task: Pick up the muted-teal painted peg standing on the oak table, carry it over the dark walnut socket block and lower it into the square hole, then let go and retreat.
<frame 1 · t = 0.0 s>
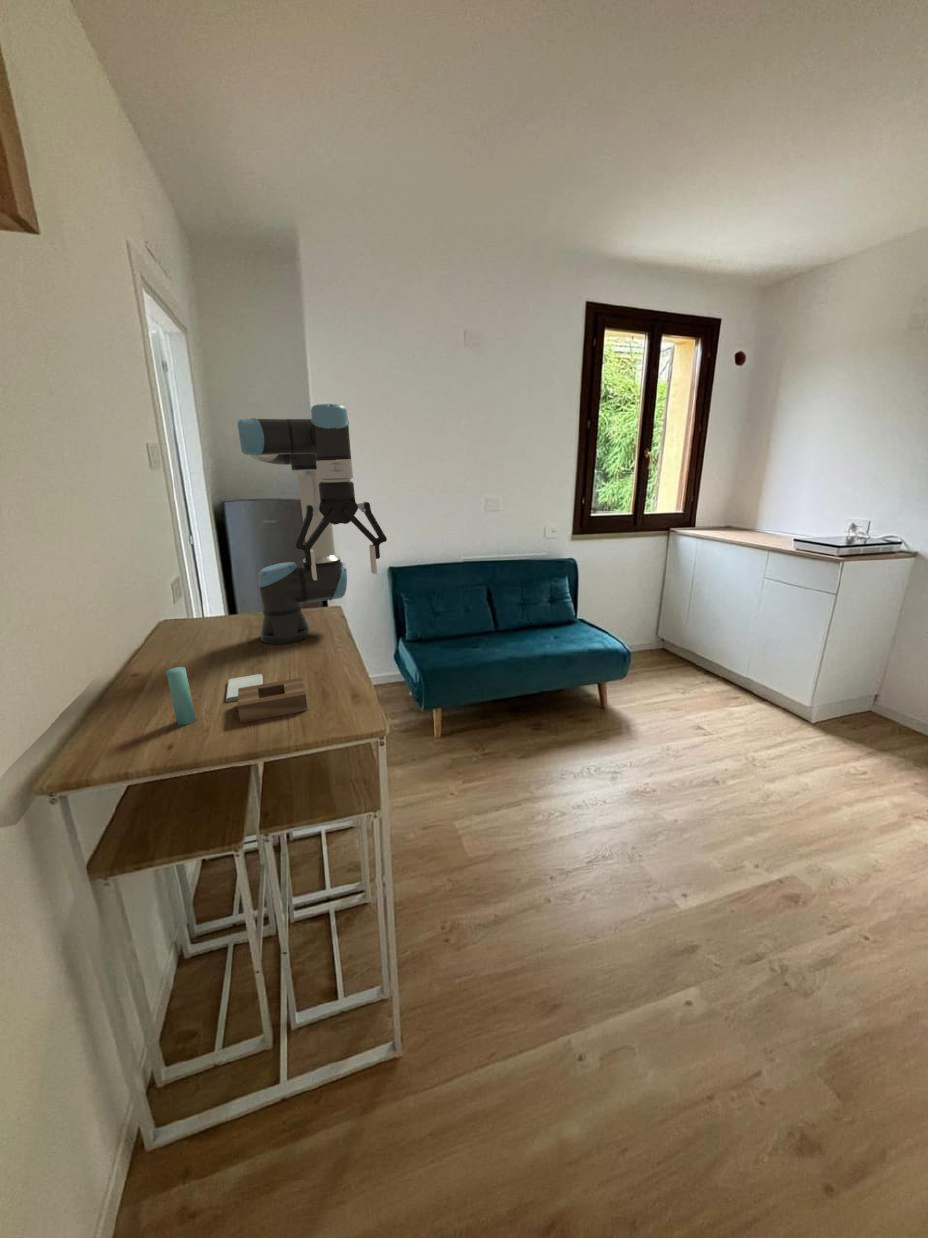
hand: (345, 576, 118), 28 cm above the table, fingers open, 13 cm apart
socket block: (273, 707, 117), on the table
peg: (186, 721, 112), on the table
hard drive: (245, 691, 127), on the table
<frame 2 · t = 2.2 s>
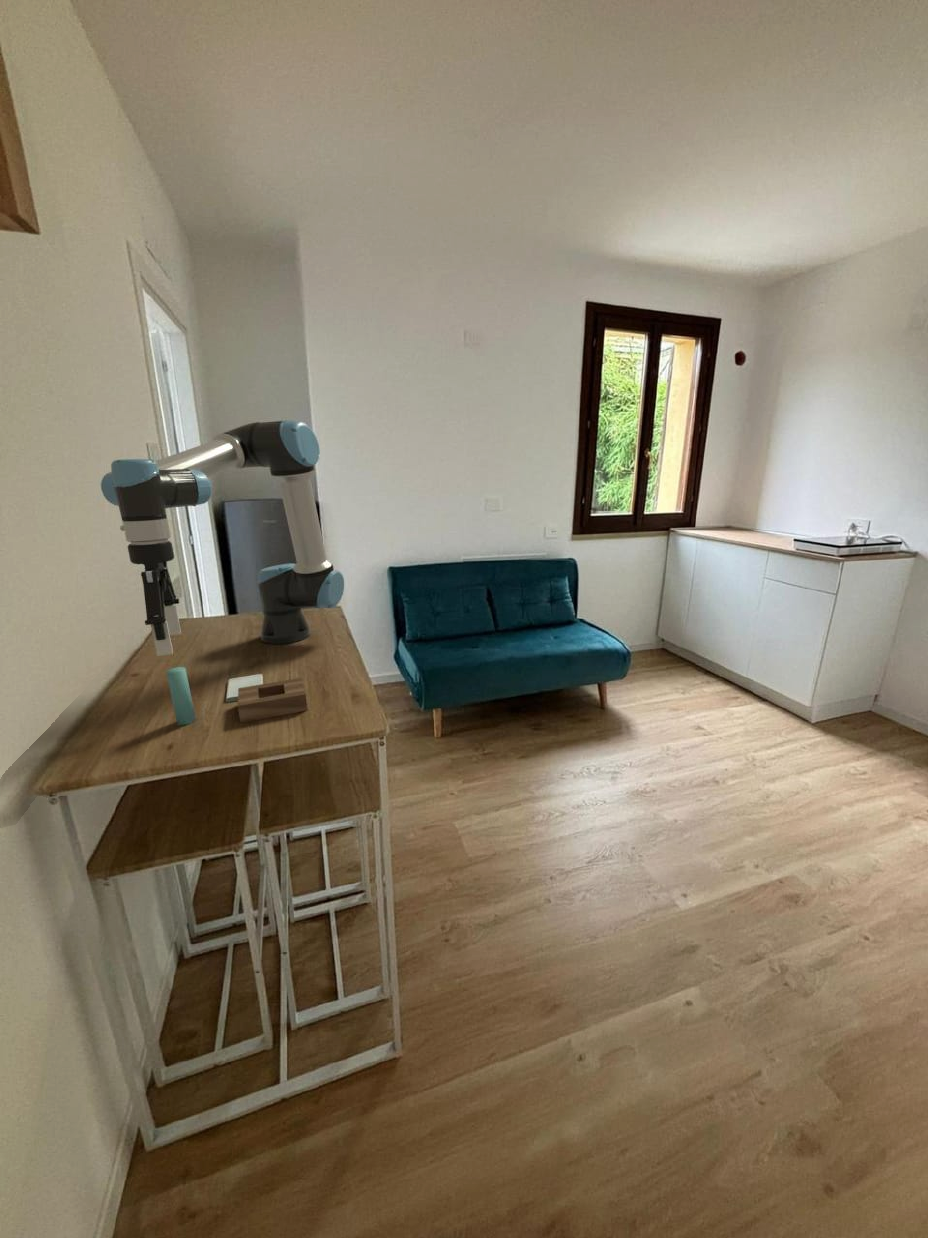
hand: (170, 644, 106), 18 cm above the table, fingers open, 13 cm apart
nothing on the table moved.
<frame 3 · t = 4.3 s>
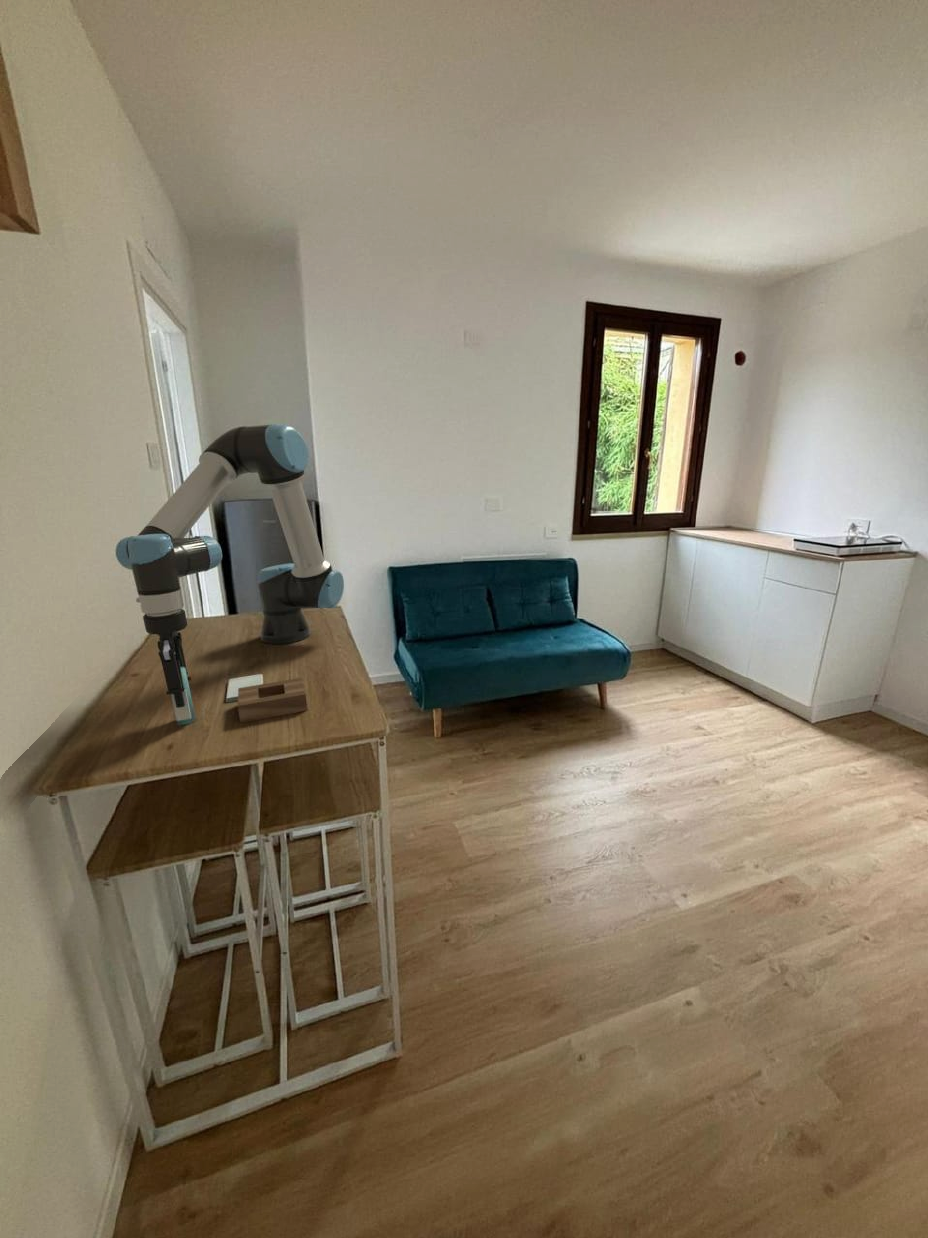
hand: (185, 714, 111), 2 cm above the table, fingers closed on peg, 3 cm apart
peg: (186, 721, 112), on the table, touching gripper
everything else where it was.
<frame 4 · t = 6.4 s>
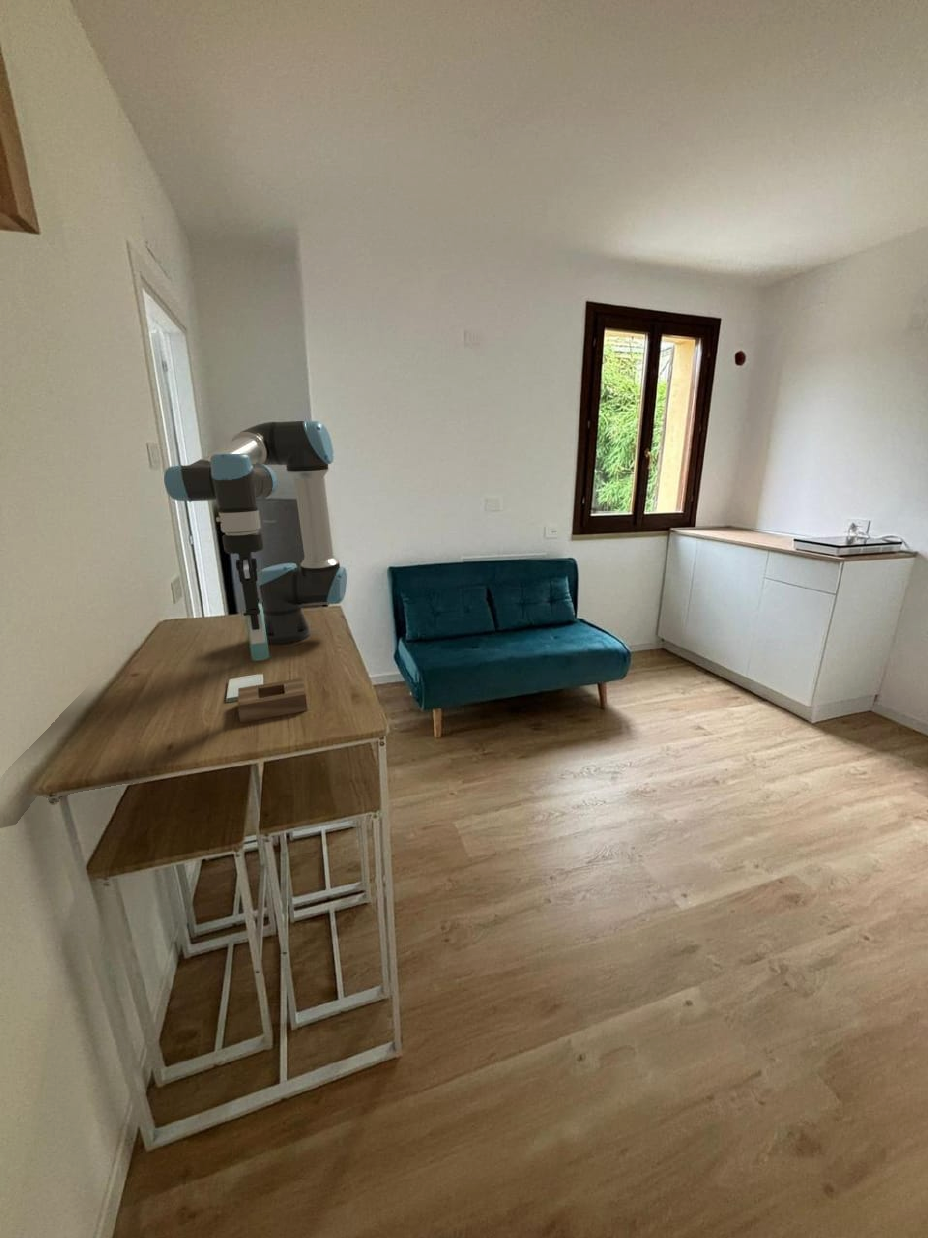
hand: (258, 639, 112), 16 cm above the table, fingers closed on peg, 3 cm apart
peg: (260, 657, 113), point 12 cm above the table, touching gripper
everything else where it was.
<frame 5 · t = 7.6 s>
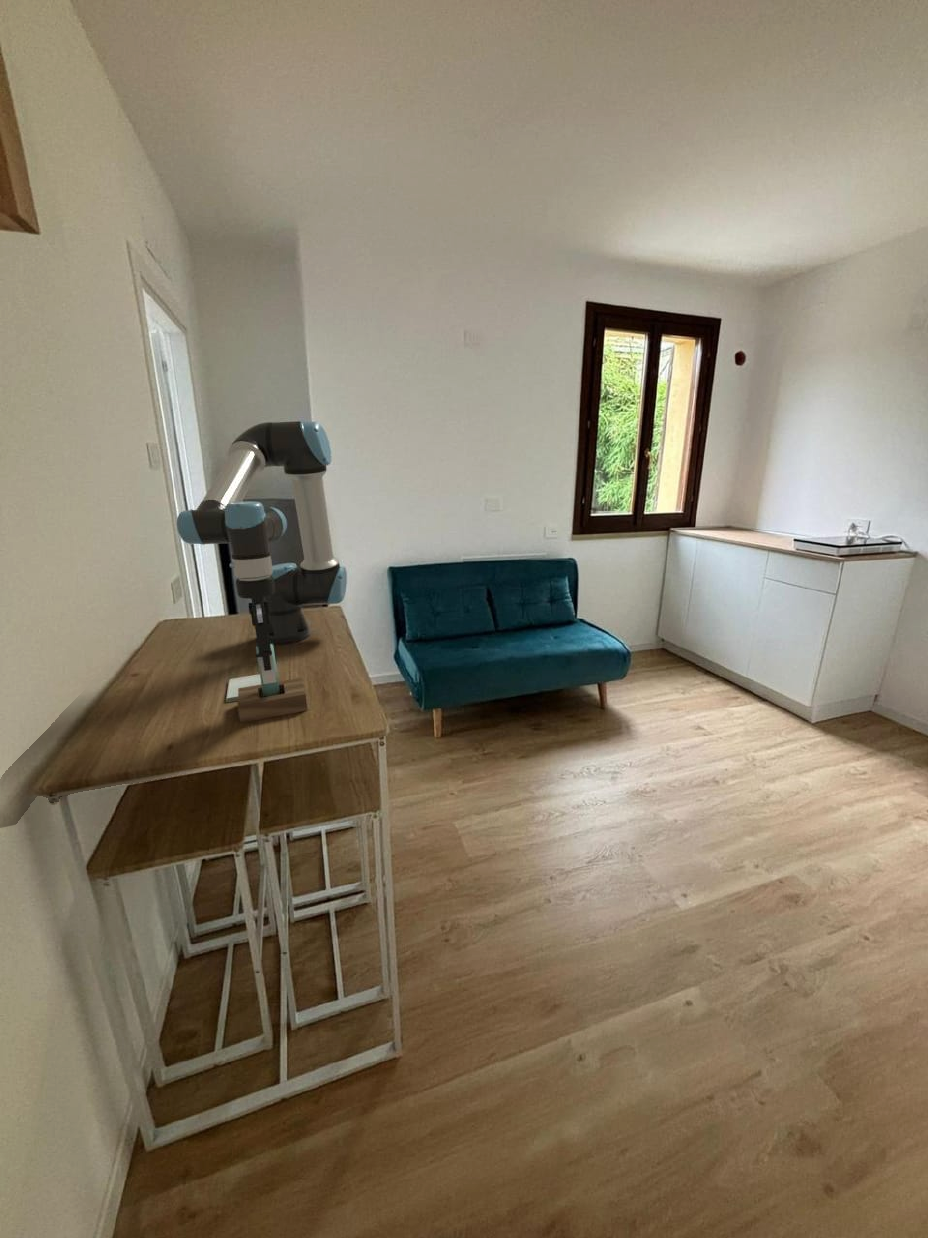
hand: (269, 679, 115), 7 cm above the table, fingers closed on peg, 3 cm apart
peg: (271, 696, 116), point 3 cm above the table, touching gripper
everything else where it was.
when the fingers open (5 cm above the table, at t = 8.6 s): peg stays where it is, resting in socket block.
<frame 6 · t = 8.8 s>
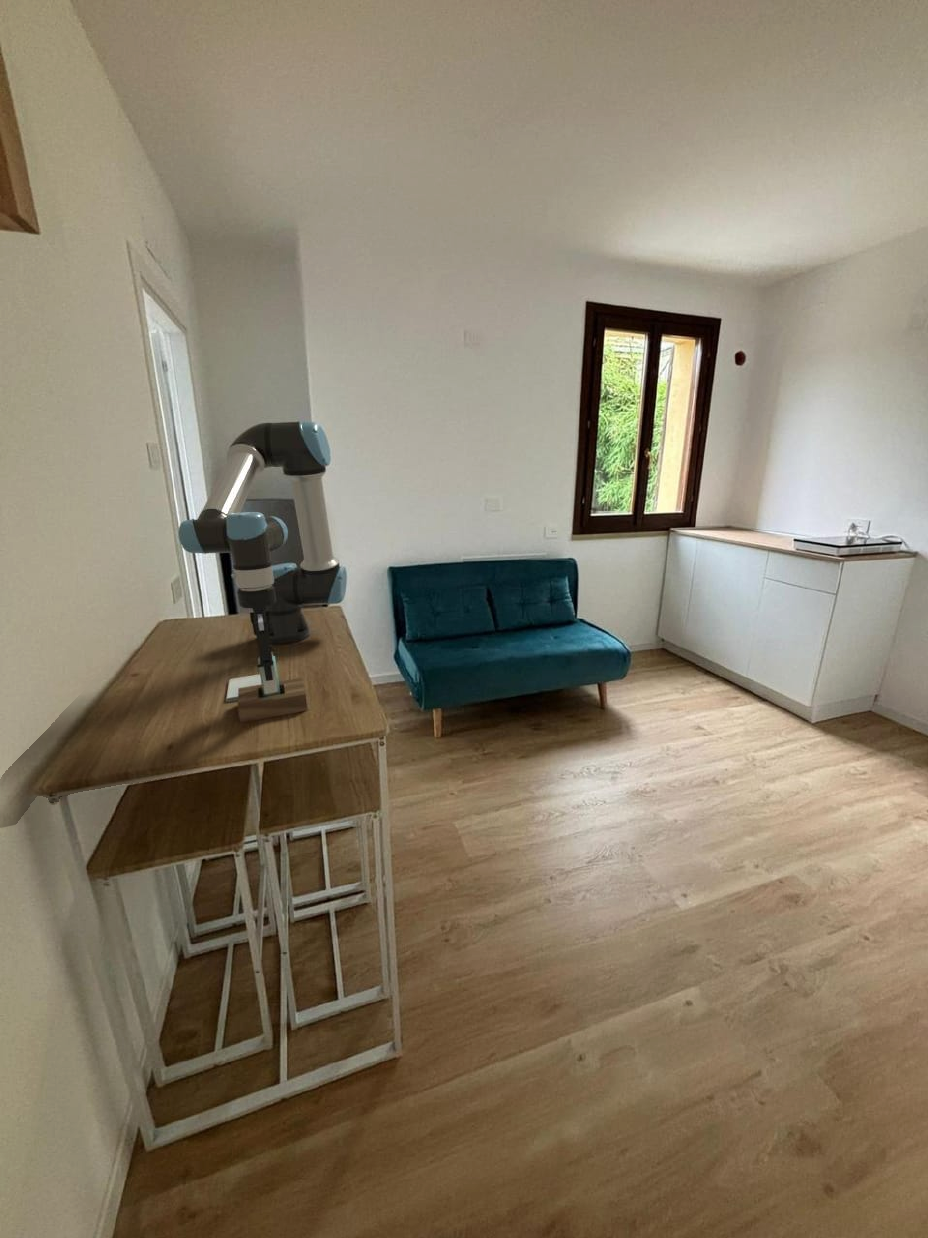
hand: (270, 685, 115), 5 cm above the table, fingers open, 7 cm apart
peg: (273, 707, 117), resting in socket block
everything else where it was.
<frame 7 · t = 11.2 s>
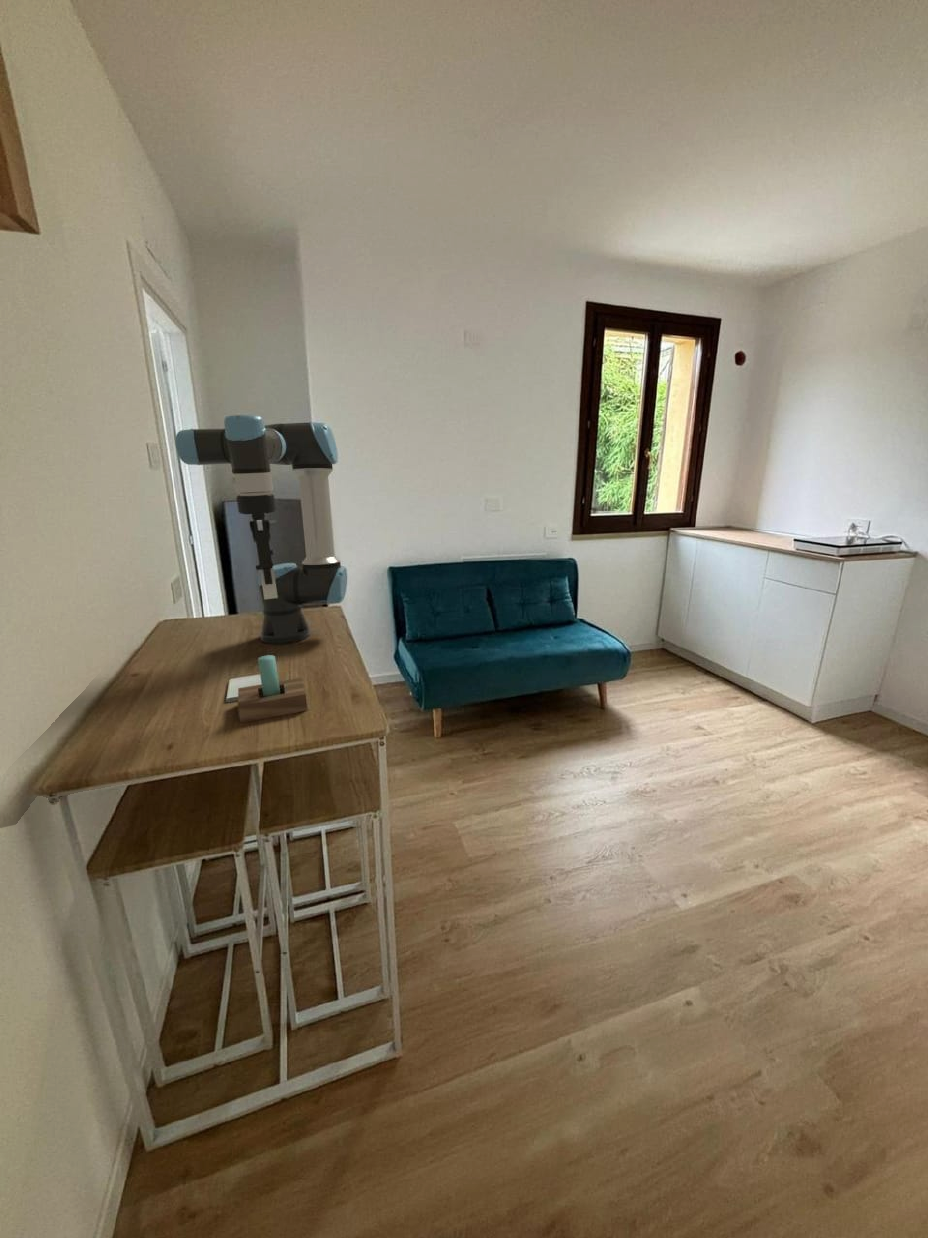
hand: (269, 590, 115), 26 cm above the table, fingers open, 13 cm apart
nothing on the table moved.
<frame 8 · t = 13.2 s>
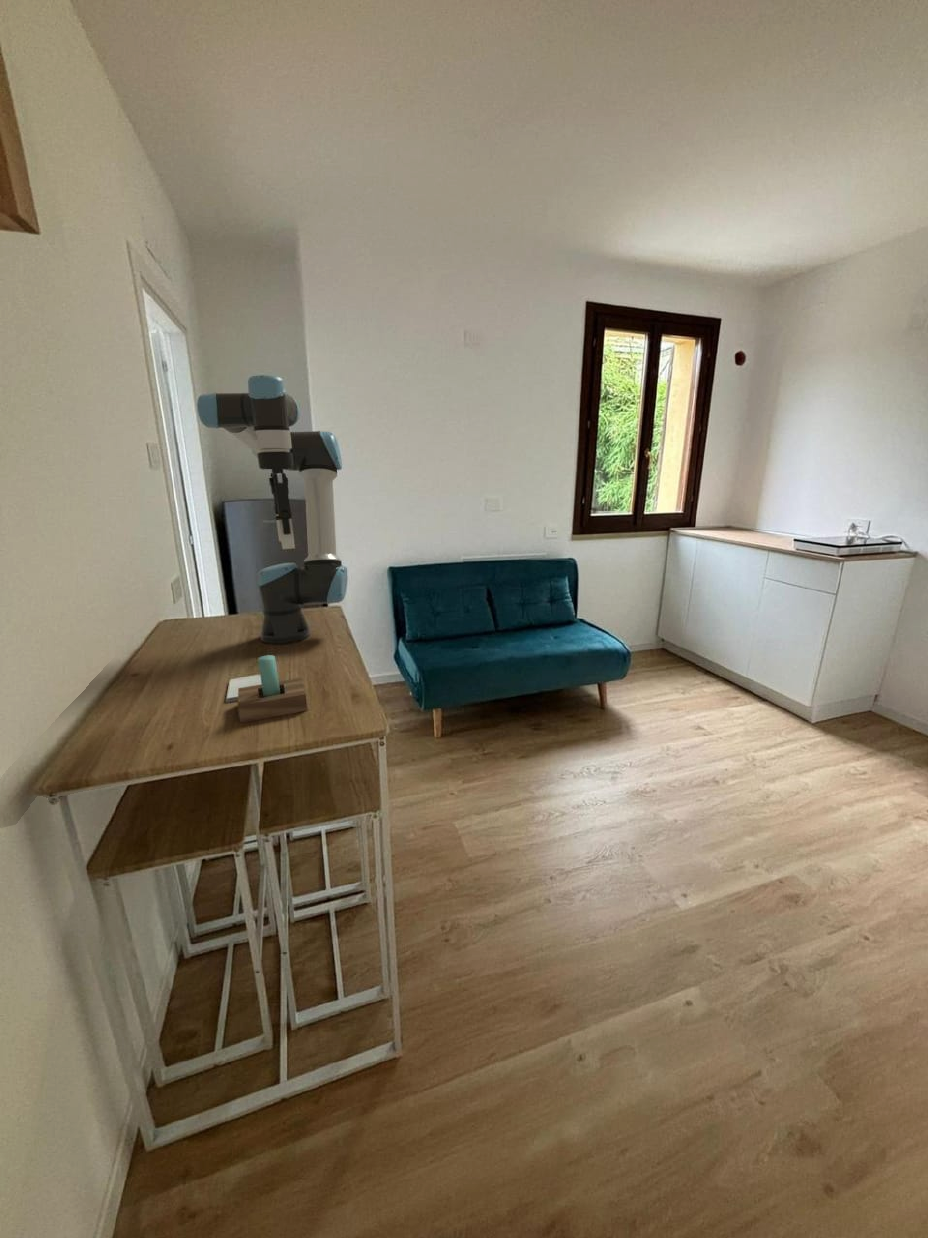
hand: (286, 544, 122), 35 cm above the table, fingers open, 13 cm apart
nothing on the table moved.
at the end: peg 0.0 cm off-centre on the socket block, point 0.0 cm above the socket block's base; peg tilted 0°; the gripper is holding nothing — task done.
